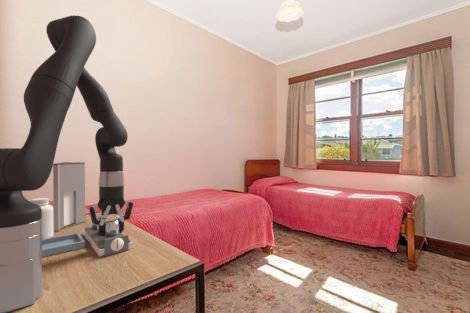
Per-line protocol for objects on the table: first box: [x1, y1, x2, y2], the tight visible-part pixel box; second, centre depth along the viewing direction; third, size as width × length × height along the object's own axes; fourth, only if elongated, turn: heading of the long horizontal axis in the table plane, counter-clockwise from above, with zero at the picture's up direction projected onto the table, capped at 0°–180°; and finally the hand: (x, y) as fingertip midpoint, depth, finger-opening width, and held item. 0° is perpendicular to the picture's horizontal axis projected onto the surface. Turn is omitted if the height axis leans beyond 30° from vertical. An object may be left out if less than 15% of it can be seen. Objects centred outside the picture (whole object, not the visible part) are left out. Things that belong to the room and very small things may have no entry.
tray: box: [42, 232, 86, 258], centre depth 82 cm, size 12×12×2 cm
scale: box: [82, 226, 133, 257], centre depth 88 cm, size 29×10×5 cm, turn 41°
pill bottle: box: [30, 197, 55, 239], centre depth 91 cm, size 8×8×15 cm
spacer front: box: [103, 218, 120, 238], centre depth 82 cm, size 5×5×5 cm
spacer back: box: [91, 213, 101, 229], centre depth 96 cm, size 5×5×5 cm
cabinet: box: [52, 161, 86, 233], centre depth 109 cm, size 21×10×28 cm, turn 25°
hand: (111, 233), depth 82 cm, fingers closed on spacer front, 5 cm apart
